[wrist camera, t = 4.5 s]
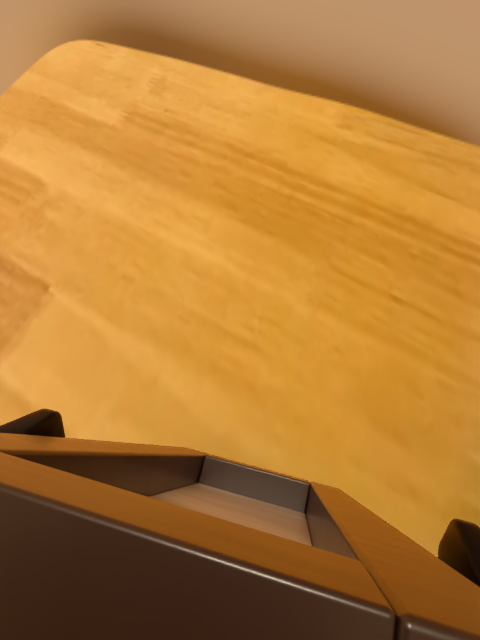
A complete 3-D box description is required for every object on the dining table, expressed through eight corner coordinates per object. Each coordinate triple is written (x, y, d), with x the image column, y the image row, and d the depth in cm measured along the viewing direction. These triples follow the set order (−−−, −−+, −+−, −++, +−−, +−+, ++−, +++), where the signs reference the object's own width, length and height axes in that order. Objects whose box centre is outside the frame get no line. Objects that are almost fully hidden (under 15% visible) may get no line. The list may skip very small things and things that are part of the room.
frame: (330, 560, 13) (688, 1535, 1) (166, 510, 15) (-428, 761, 3) (341, 489, 14) (631, 687, 2) (183, 447, 15) (-216, 413, 3)
